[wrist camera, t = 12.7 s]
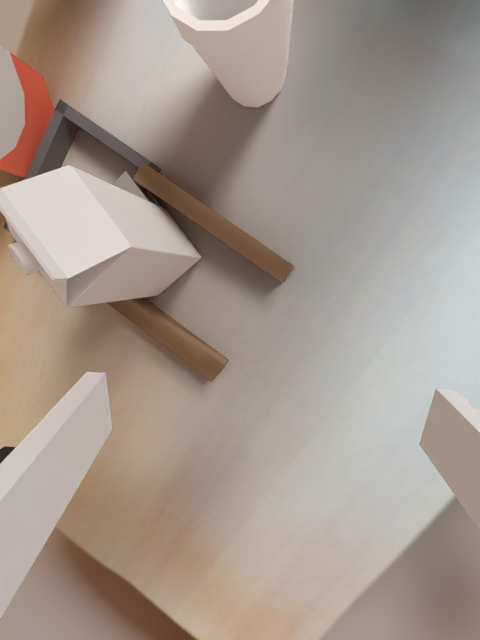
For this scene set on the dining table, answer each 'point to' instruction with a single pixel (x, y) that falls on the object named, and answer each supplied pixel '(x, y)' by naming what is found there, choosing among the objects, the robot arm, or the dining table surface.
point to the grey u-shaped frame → (63, 135)
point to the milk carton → (93, 238)
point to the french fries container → (21, 113)
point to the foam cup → (239, 43)
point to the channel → (225, 231)
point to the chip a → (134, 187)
